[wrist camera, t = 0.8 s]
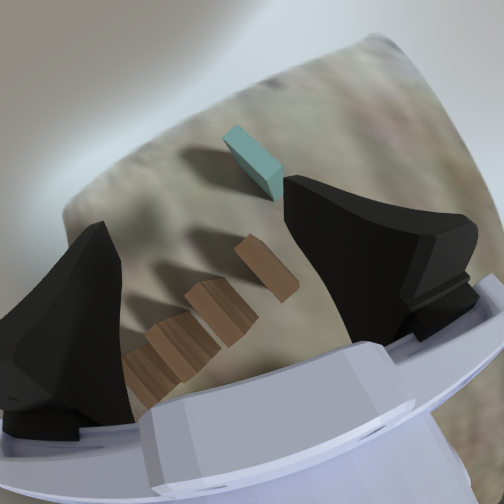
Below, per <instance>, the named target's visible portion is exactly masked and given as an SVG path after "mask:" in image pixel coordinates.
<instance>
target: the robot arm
mask: <svg viewBox="0 0 504 504" xmlns="http://www.w3.org/2000/svg"><path fill="white" fill-rule="evenodd" d="M283 197H284V221H285V223H286V225H287V228H288V230H289V232H290V233H291V235H292V237H293V239H294V240H295V242H296V243H297V245H298V246H299V248H300V249H301V250H302V252H303V253H304V255H305V256H306V257H307V259H308V260H309V262H310V263H311V265H312V266H313V267H314V269H315V270H316V272H317V273H318V274H319V276H320V277H321V279H322V281H323V282H324V284H325V286H326V287H327V289H328V291H329V293H330V295H331V297H332V299H333V301H334V303H335V305H336V307H337V309H338V311H339V313H340V316H341V318H342V320H343V322H344V324H345V327H346V329H347V331H348V334H349V336H350V339H351V341H352V344H350V345H346V346H342V347H338V348H336V349H333V350H331V351H328V352H326V353H323V354H320V355H318V356H315V357H312V358H310V359H307V360H304V361H301V362H298V363H296V364H293V365H290V366H287V367H284V368H281V369H278V370H275V371H272V372H268V373H265V374H262V375H259V376H255V377H252V378H249V379H245V380H242V381H238V382H234V383H231V384H227V385H223V386H219V387H215V388H211V389H207V390H203V391H198V392H194V393H190V394H185V395H182V396H179V397H176V398H173V399H169V400H166V401H163V402H160V403H157V404H155V405H154V406H153V407H152V408H151V409H149V410H148V411H147V412H146V413H145V414H144V415H143V416H142V417H141V418H140V419H139V420H138V423H135V420H134V417H133V414H132V410H131V406H130V402H129V398H128V394H127V389H126V384H125V379H124V373H123V366H122V359H121V350H120V340H119V324H120V306H121V291H122V269H121V260H120V258H119V256H118V253H117V251H116V249H115V247H114V244H113V242H112V240H111V237H110V235H109V233H108V230H107V228H106V225H105V223H104V221H101V222H98V223H95V224H92V225H90V226H88V227H87V228H86V229H85V230H84V231H83V232H82V233H81V235H80V236H79V237H78V238H77V239H76V240H75V242H74V243H73V244H72V245H71V246H70V247H69V249H68V250H67V251H66V252H65V254H64V255H63V256H62V257H61V258H60V260H59V261H58V262H57V263H56V264H55V265H54V267H53V268H52V269H51V270H50V271H49V273H48V274H47V275H46V276H45V277H44V278H43V279H42V281H41V282H40V283H39V284H38V285H37V286H36V287H35V288H34V289H33V290H32V291H31V292H30V293H29V294H28V295H27V296H26V297H25V298H24V299H23V300H22V301H21V302H20V303H19V304H18V305H17V306H15V308H13V309H12V310H11V311H10V312H9V313H8V314H7V315H5V316H4V317H3V318H2V319H1V320H0V409H1V410H3V411H4V414H3V419H2V418H0V487H2V488H5V489H7V490H11V491H13V492H16V493H20V494H23V495H26V496H30V497H35V498H39V499H43V500H48V501H53V502H58V503H63V504H478V502H477V500H476V497H475V495H474V493H473V491H472V489H471V487H470V485H471V482H470V478H469V475H468V473H467V471H466V469H465V467H464V465H463V463H462V461H461V459H460V457H459V456H458V454H457V453H456V451H455V450H454V448H453V447H452V445H451V444H450V443H449V442H448V440H447V439H445V438H444V436H443V434H442V432H441V431H440V429H439V427H438V425H437V424H436V422H435V420H434V418H433V417H432V415H431V413H430V412H432V411H433V410H435V409H436V408H437V407H439V406H440V405H441V404H443V403H444V402H445V401H446V400H448V399H449V398H450V397H451V396H453V395H454V394H455V393H456V392H458V391H459V390H460V389H461V388H462V387H463V386H465V385H466V384H467V383H468V382H469V381H470V380H471V379H473V378H474V377H475V376H476V375H477V374H478V373H479V372H480V371H481V370H482V369H483V368H484V367H486V366H487V365H488V364H489V363H490V362H491V361H492V360H493V359H494V358H495V357H496V356H497V355H498V354H499V352H500V351H501V350H502V349H503V348H504V286H503V284H502V283H501V282H500V281H499V280H498V279H497V278H496V277H495V276H494V275H493V274H492V273H490V274H488V275H487V276H485V277H484V278H482V279H481V280H479V281H478V282H477V283H476V284H475V285H474V286H473V288H472V287H471V286H470V285H469V284H468V283H467V282H468V281H469V280H470V276H469V275H468V274H467V273H466V272H465V269H466V267H467V265H468V263H469V261H470V259H471V256H472V254H473V252H474V249H475V247H476V244H477V240H478V228H477V226H476V224H475V223H473V222H472V221H471V220H470V219H469V218H467V217H466V216H464V215H462V214H451V213H437V212H429V211H422V210H415V209H409V208H404V207H399V206H394V205H390V204H386V203H382V202H378V201H375V200H371V199H367V198H364V197H361V196H358V195H355V194H352V193H349V192H346V191H343V190H341V189H338V188H335V187H332V186H330V185H327V184H324V183H322V182H319V181H316V180H313V179H310V178H307V177H304V176H300V175H294V176H288V177H283Z"/></svg>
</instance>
